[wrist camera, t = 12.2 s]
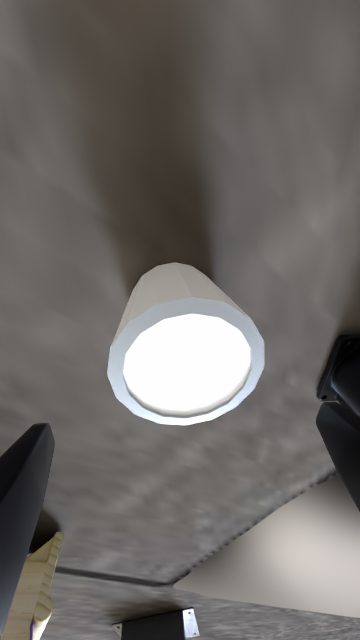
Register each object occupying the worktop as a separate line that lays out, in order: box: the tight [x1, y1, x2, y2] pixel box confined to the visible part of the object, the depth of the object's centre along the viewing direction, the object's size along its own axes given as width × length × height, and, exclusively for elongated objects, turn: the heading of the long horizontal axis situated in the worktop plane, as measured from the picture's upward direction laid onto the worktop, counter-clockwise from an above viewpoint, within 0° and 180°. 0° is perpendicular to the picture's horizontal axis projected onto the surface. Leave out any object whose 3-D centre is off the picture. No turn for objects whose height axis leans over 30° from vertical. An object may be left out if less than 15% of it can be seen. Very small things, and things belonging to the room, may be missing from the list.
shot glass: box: [107, 262, 264, 425], centre depth 14 cm, size 7×7×7 cm
